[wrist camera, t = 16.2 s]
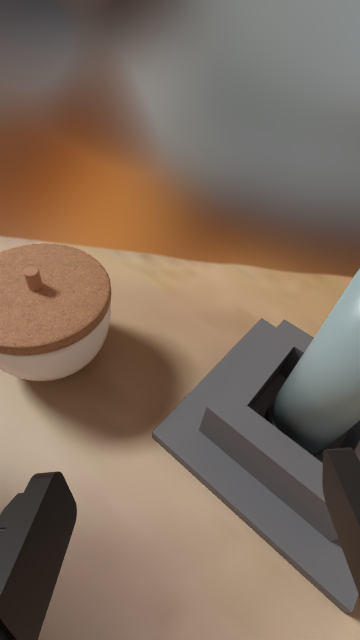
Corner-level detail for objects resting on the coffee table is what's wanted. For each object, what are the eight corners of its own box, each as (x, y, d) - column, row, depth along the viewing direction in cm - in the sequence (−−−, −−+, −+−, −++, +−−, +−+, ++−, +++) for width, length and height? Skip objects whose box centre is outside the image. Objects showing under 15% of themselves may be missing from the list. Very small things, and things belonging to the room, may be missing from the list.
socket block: (151, 437, 26) (154, 408, 23) (258, 324, 35) (273, 289, 31) (343, 612, 21) (390, 613, 17) (415, 426, 29) (456, 398, 26)
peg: (252, 429, 27) (339, 295, 15) (282, 387, 29) (375, 247, 18) (309, 474, 25) (456, 360, 13) (336, 425, 28) (477, 296, 16)
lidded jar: (4, 306, 33) (-32, 224, 26) (115, 304, 35) (109, 226, 28) (-24, 408, 27) (-83, 335, 19) (115, 399, 28) (109, 328, 21)
